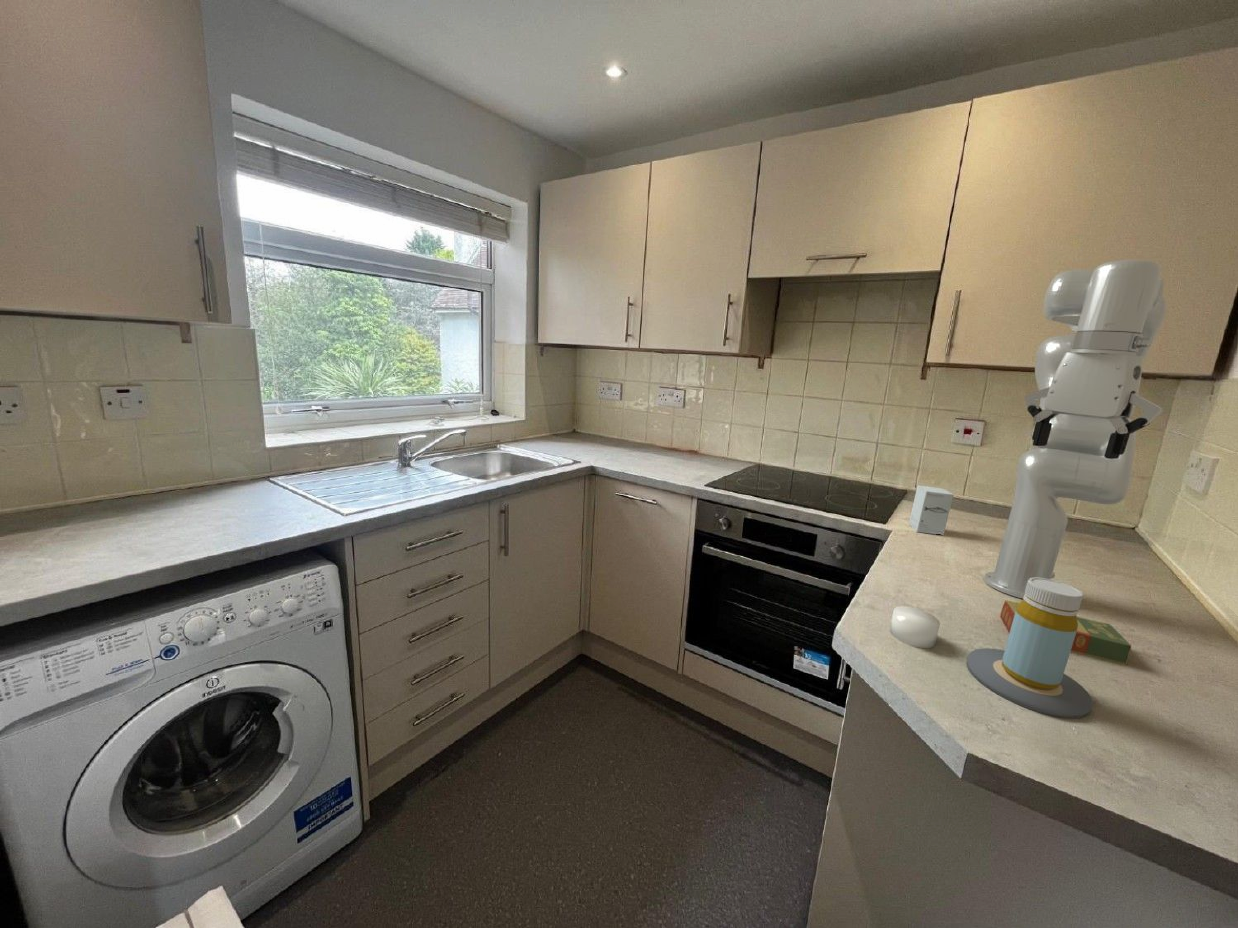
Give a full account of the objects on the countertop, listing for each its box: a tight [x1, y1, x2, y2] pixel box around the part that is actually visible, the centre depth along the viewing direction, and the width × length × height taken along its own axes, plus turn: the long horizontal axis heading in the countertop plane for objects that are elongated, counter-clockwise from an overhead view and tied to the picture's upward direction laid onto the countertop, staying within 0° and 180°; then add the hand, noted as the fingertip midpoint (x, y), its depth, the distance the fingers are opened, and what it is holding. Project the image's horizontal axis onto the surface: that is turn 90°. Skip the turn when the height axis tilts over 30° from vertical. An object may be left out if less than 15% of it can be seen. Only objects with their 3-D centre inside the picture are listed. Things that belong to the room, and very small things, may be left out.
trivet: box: [966, 647, 1094, 719], centre depth 76 cm, size 15×15×1 cm
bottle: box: [1002, 577, 1084, 690], centre depth 74 cm, size 7×7×15 cm
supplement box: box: [908, 484, 954, 536], centre depth 146 cm, size 7×7×13 cm
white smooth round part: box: [888, 605, 941, 649], centre depth 87 cm, size 7×7×4 cm
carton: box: [999, 599, 1132, 666], centre depth 90 cm, size 8×16×4 cm, turn 65°
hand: (1073, 451), depth 82 cm, fingers open, 9 cm apart
